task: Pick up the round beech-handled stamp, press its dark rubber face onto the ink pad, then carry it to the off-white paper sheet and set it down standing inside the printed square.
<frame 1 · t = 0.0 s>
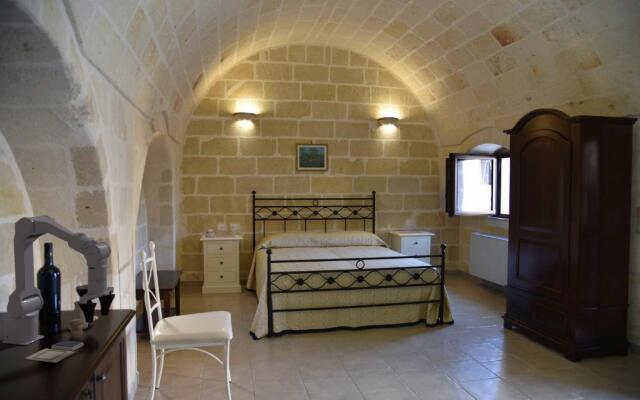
hand: (97, 318, 147), 10 cm above the table, tool pointing down, fingers open, 7 cm apart
flask: (78, 328, 166), on the table
ink pad: (67, 347, 147), on the table
paper sheet: (50, 355, 140), on the table
stamp: (76, 339, 154), on the table
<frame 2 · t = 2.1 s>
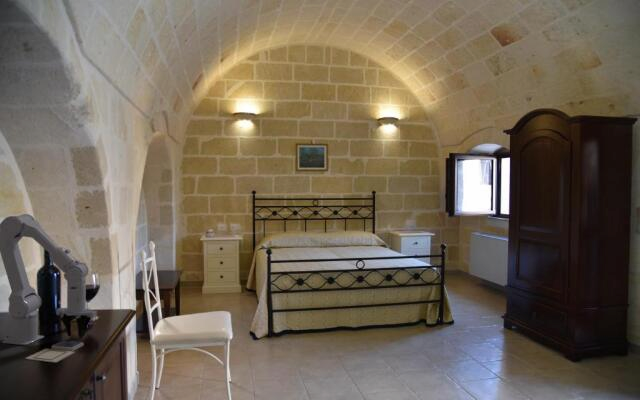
hand: (76, 335, 154), 1 cm above the table, tool pointing down, fingers closed on stamp, 4 cm apart
stamp: (76, 339, 154), on the table, touching gripper
everything else where it was.
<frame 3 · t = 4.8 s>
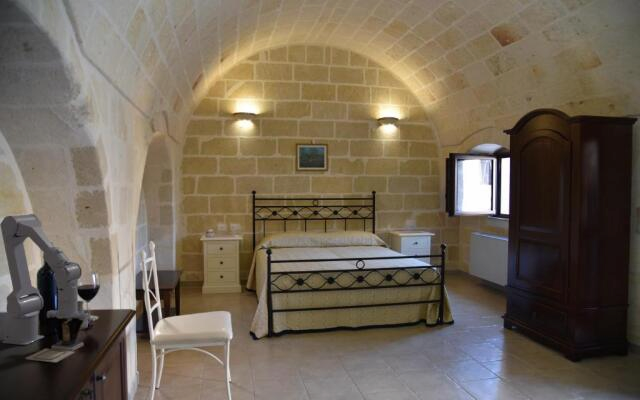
hand: (67, 339, 147), 3 cm above the table, tool pointing down, fingers closed on stamp, 4 cm apart
stamp: (69, 342, 148), point 1 cm above the table, touching gripper, ink pad
everything else where it was.
when the fingers open (2 cm above the table, at t = 7.4 s): stamp stays where it is, resting on paper sheet.
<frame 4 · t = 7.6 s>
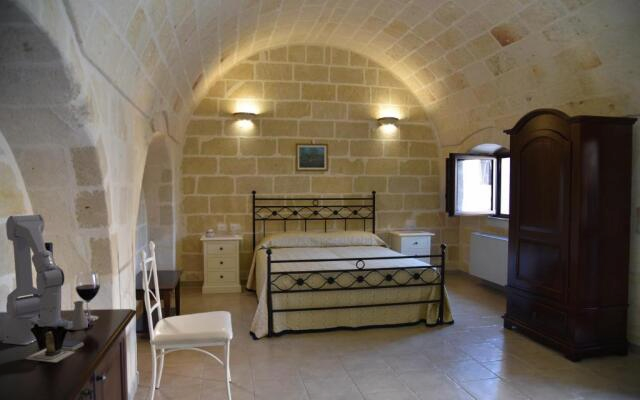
hand: (50, 348, 140), 2 cm above the table, tool pointing down, fingers open, 5 cm apart
stamp: (53, 353, 141), resting on paper sheet
everything else where it was.
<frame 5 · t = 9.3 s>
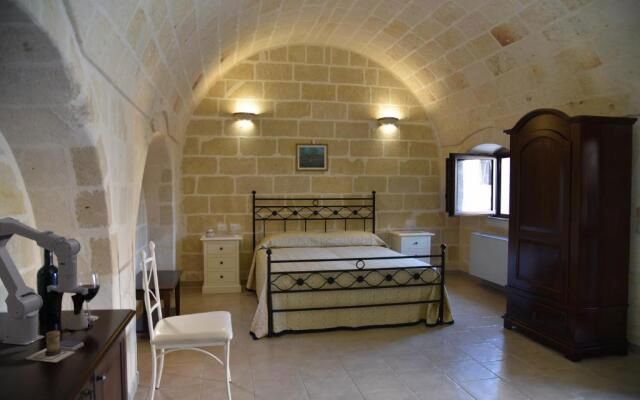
hand: (67, 313, 150), 10 cm above the table, tool pointing down, fingers open, 7 cm apart
nothing on the table moved.
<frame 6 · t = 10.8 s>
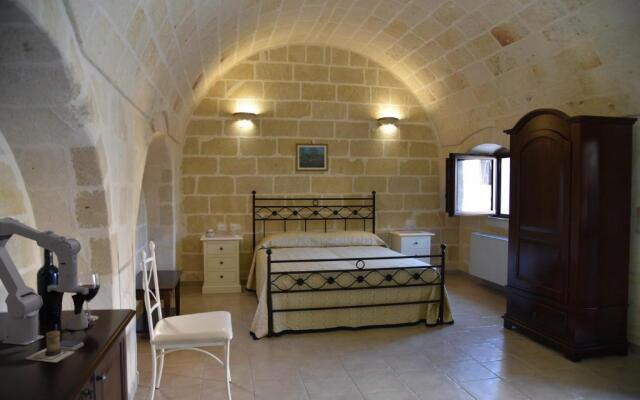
hand: (68, 313, 151), 10 cm above the table, tool pointing down, fingers open, 7 cm apart
nothing on the table moved.
at the end: stamp 1.1 cm from the target spot, resting on paper sheet; stamp tilted 1°; the gripper is holding nothing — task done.
